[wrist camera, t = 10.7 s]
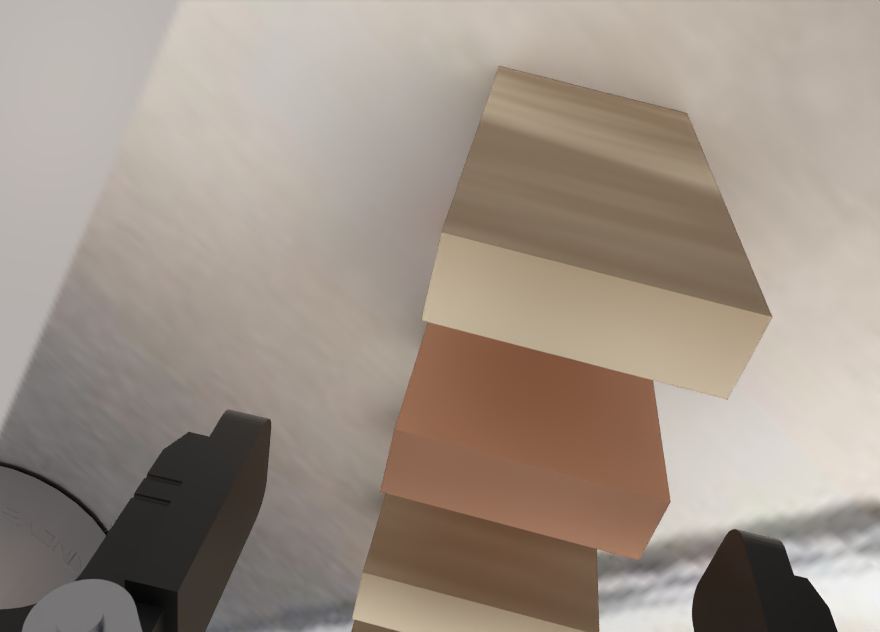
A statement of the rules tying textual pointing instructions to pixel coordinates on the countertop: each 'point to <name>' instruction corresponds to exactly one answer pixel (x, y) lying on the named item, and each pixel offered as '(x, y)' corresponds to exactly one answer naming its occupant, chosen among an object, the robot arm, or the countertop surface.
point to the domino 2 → (530, 442)
